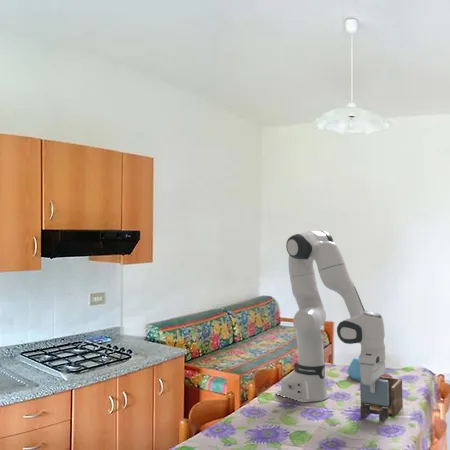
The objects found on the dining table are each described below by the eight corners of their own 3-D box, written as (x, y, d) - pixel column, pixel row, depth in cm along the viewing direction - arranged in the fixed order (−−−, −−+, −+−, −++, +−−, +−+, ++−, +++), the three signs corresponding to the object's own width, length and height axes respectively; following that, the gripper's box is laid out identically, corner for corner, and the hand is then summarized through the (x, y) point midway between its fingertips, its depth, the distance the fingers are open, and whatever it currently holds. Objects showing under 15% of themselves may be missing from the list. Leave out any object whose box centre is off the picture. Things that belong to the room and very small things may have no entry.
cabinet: (355, 415, 185) (355, 386, 186) (370, 401, 202) (369, 374, 202) (390, 422, 178) (389, 392, 179) (402, 406, 195) (402, 379, 195)
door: (390, 403, 183) (389, 379, 183) (387, 406, 180) (386, 381, 181) (363, 399, 189) (363, 376, 189) (361, 401, 186) (360, 378, 186)
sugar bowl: (357, 383, 226) (357, 358, 227) (342, 375, 241) (342, 351, 241) (386, 381, 230) (385, 356, 230) (369, 372, 245) (369, 349, 245)
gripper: (372, 348, 195) (374, 382, 195) (356, 359, 178) (358, 397, 177) (388, 349, 192) (390, 384, 191) (373, 361, 174) (375, 399, 174)
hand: (374, 390), depth 184 cm, fingers closed on door, 2 cm apart
